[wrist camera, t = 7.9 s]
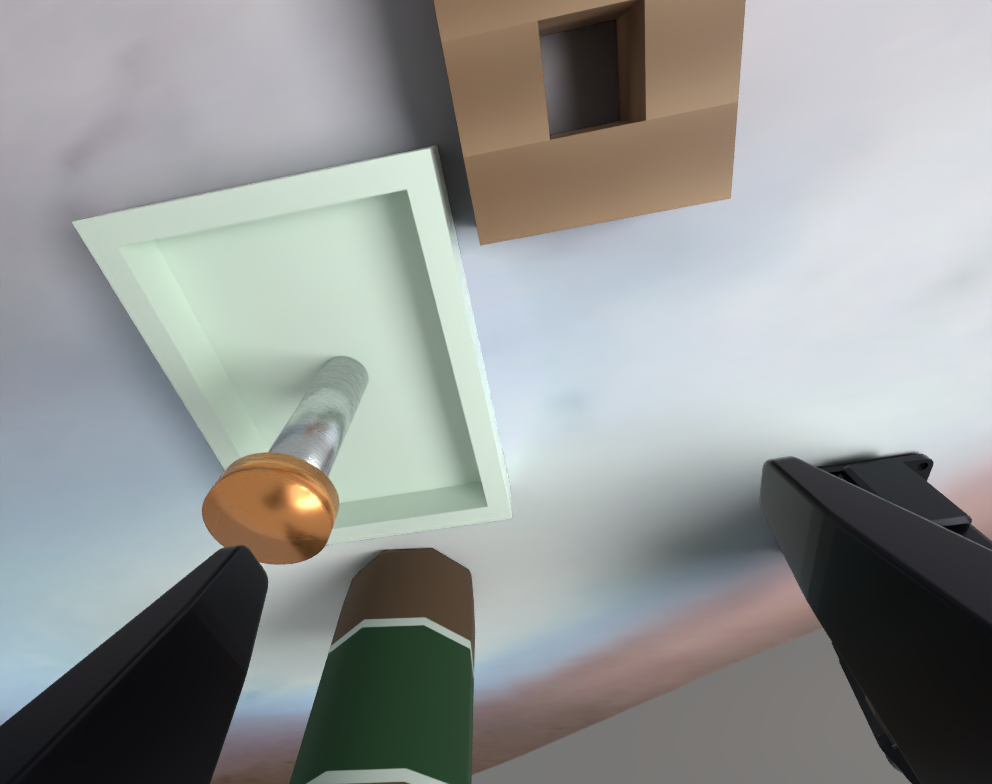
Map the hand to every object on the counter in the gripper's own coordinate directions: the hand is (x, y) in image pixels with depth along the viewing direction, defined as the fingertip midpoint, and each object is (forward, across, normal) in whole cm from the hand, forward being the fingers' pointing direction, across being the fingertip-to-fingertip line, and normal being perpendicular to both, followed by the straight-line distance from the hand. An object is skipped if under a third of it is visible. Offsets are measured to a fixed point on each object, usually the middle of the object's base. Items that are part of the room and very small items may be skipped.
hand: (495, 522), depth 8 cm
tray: (+13, +7, +2) cm, 15 cm away
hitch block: (+13, -4, -6) cm, 15 cm away
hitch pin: (+12, +7, +2) cm, 14 cm away
